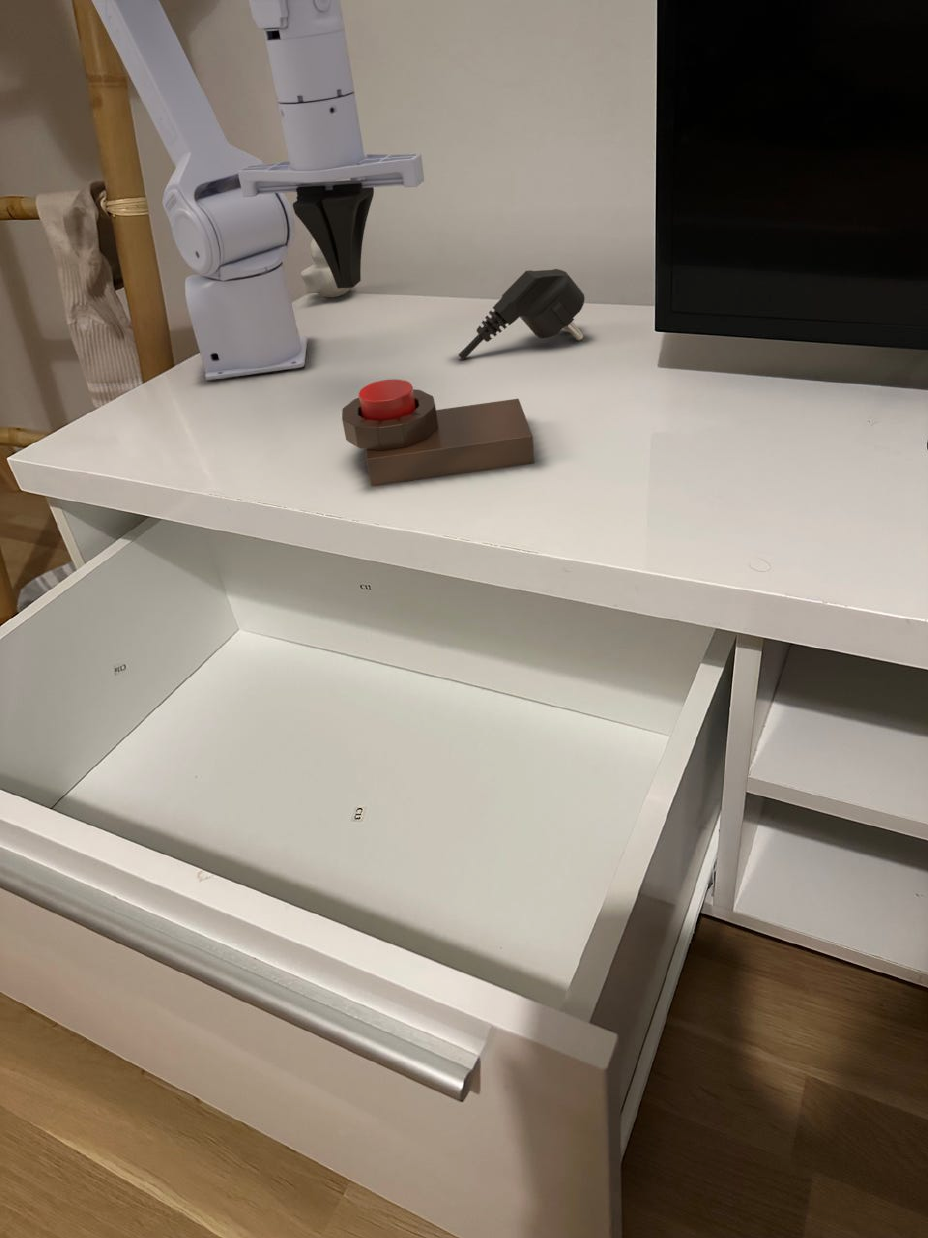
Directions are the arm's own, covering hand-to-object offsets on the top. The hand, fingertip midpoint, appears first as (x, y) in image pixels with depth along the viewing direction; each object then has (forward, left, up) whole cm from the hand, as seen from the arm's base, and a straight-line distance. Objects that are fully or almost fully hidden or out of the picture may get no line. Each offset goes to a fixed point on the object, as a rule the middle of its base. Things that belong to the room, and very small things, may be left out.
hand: (349, 284), depth 76 cm
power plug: (+15, +6, -10) cm, 18 cm away
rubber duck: (-4, +30, -10) cm, 32 cm away
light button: (+2, -14, -6) cm, 15 cm away
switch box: (+6, -14, -9) cm, 18 cm away
